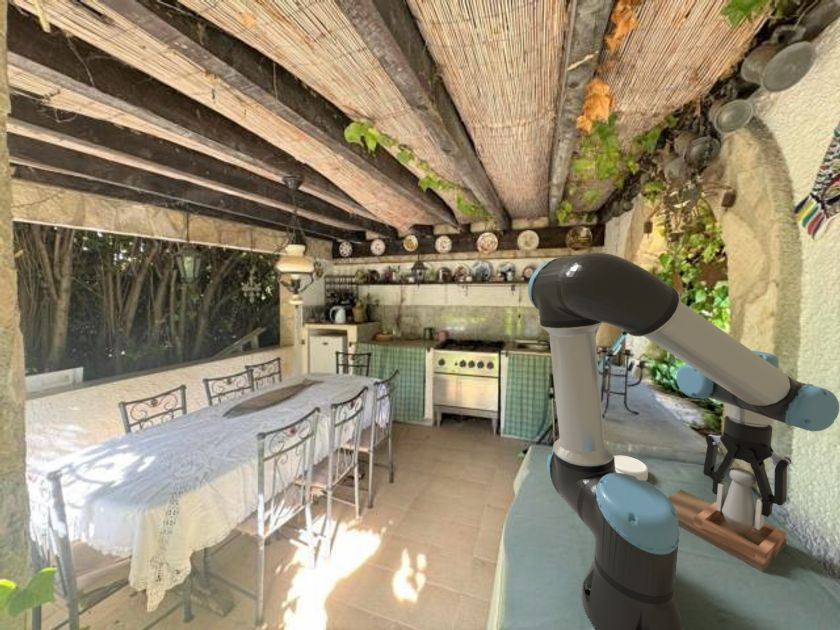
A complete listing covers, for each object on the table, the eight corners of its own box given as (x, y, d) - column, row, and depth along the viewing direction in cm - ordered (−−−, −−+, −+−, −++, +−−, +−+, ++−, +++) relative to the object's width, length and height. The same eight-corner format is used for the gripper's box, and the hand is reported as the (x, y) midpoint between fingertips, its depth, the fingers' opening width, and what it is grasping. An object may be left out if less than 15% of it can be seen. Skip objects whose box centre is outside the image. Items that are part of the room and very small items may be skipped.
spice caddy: (762, 571, 66) (764, 556, 65) (653, 511, 83) (654, 499, 83) (785, 545, 72) (787, 530, 72) (680, 494, 90) (681, 482, 90)
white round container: (654, 477, 99) (654, 466, 98) (636, 487, 94) (637, 476, 93) (620, 461, 107) (620, 451, 107) (602, 470, 102) (603, 459, 102)
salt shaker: (764, 534, 71) (769, 478, 70) (737, 534, 71) (742, 478, 70) (738, 515, 77) (743, 463, 76) (714, 515, 77) (718, 463, 76)
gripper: (818, 433, 65) (806, 539, 67) (703, 403, 82) (696, 489, 84) (807, 442, 62) (794, 553, 64) (688, 409, 78) (682, 498, 80)
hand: (738, 517), depth 74 cm, fingers closed on salt shaker, 6 cm apart
